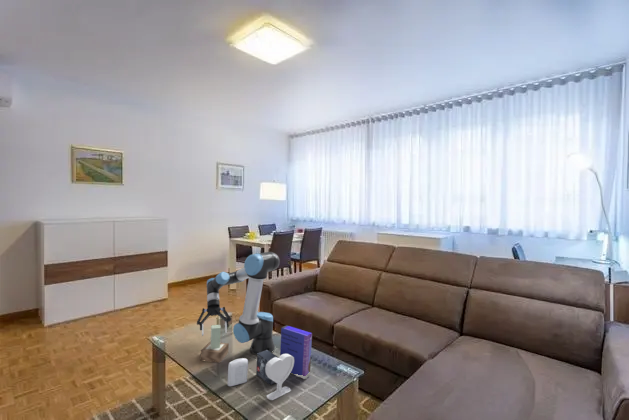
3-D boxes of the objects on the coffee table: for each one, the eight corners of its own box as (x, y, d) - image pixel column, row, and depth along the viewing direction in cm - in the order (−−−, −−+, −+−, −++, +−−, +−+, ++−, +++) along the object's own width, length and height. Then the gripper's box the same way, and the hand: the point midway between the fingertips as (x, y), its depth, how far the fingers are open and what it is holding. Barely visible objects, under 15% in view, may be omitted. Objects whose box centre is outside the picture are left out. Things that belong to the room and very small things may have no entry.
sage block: (219, 344, 193) (219, 324, 192) (219, 347, 188) (220, 327, 188) (210, 345, 191) (211, 325, 191) (211, 348, 186) (211, 328, 186)
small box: (255, 374, 172) (256, 353, 172) (265, 370, 177) (266, 349, 177) (270, 385, 163) (271, 362, 163) (280, 380, 168) (281, 358, 168)
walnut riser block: (228, 353, 195) (228, 343, 195) (220, 362, 183) (220, 352, 183) (209, 350, 196) (210, 341, 196) (200, 360, 184) (200, 349, 184)
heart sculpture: (269, 401, 150) (271, 364, 149) (263, 396, 153) (264, 360, 153) (294, 389, 161) (295, 354, 160) (287, 384, 164) (289, 350, 164)
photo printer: (245, 378, 169) (246, 355, 168) (248, 382, 165) (249, 358, 165) (226, 383, 163) (227, 359, 163) (229, 387, 159) (230, 363, 159)
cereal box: (309, 375, 174) (312, 332, 173) (305, 379, 170) (307, 335, 169) (284, 365, 183) (286, 324, 182) (279, 369, 179) (281, 327, 178)
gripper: (232, 302, 212) (234, 333, 199) (192, 305, 202) (192, 338, 189) (233, 297, 207) (236, 328, 194) (193, 300, 197) (192, 333, 184)
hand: (214, 333), depth 191 cm, fingers open, 13 cm apart
